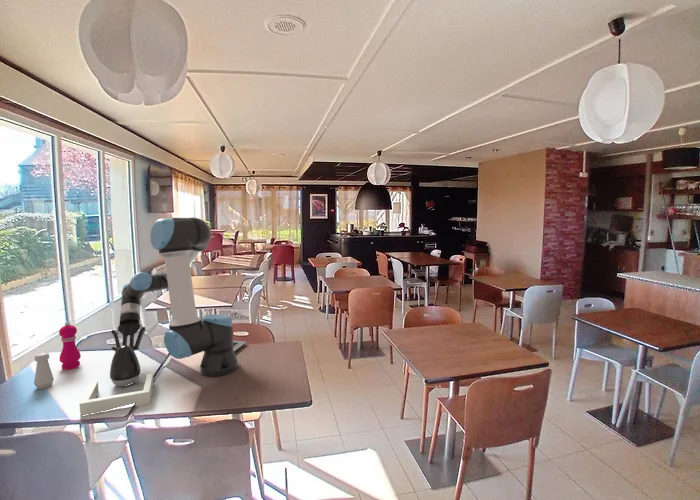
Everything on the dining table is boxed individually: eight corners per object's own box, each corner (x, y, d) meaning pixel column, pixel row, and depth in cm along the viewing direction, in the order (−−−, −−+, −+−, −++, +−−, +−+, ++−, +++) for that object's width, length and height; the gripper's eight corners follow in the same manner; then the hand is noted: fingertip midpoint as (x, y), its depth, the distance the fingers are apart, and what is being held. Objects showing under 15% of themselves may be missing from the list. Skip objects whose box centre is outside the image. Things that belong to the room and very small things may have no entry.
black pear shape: (125, 376, 149) (122, 340, 147) (147, 378, 147) (144, 342, 145) (103, 388, 139) (100, 349, 137) (126, 391, 137) (124, 351, 135)
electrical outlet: (233, 355, 171) (233, 350, 171) (213, 354, 173) (213, 349, 173) (246, 345, 184) (246, 341, 184) (227, 344, 186) (227, 339, 186)
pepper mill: (56, 369, 155) (52, 323, 153) (74, 362, 162) (70, 318, 160) (67, 372, 153) (63, 325, 150) (85, 365, 159) (81, 320, 157)
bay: (92, 394, 134) (91, 382, 134) (153, 384, 142) (153, 373, 142) (80, 416, 120) (79, 403, 119) (149, 404, 128) (149, 391, 127)
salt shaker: (32, 391, 136) (29, 358, 135) (37, 385, 141) (33, 352, 140) (52, 388, 139) (49, 355, 137) (56, 381, 144) (53, 350, 142)
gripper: (147, 318, 167) (145, 367, 154) (114, 321, 162) (109, 372, 149) (145, 309, 162) (143, 360, 148) (111, 313, 157) (105, 365, 143)
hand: (126, 366), depth 149 cm, fingers closed
